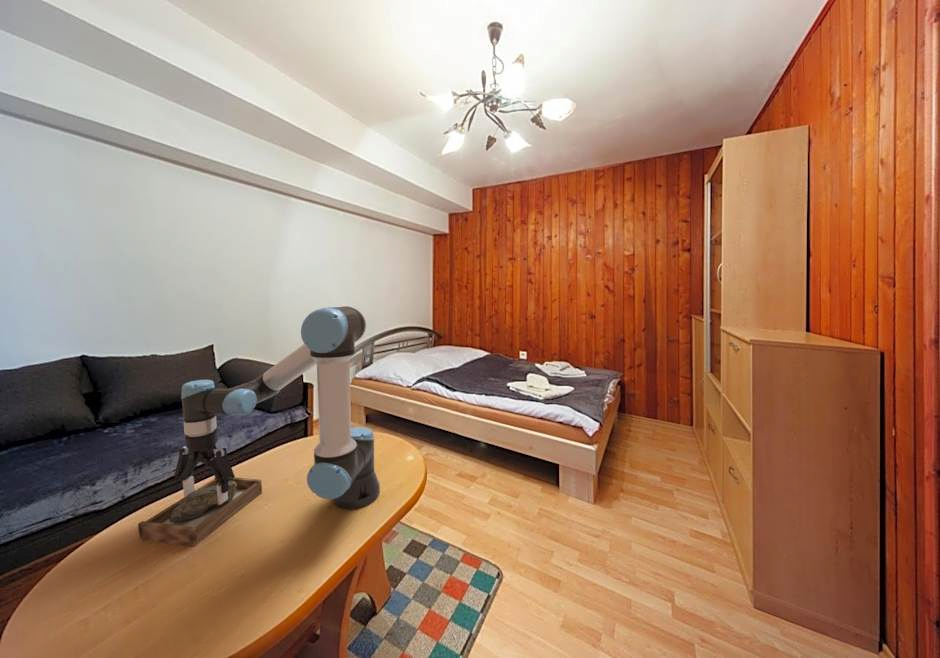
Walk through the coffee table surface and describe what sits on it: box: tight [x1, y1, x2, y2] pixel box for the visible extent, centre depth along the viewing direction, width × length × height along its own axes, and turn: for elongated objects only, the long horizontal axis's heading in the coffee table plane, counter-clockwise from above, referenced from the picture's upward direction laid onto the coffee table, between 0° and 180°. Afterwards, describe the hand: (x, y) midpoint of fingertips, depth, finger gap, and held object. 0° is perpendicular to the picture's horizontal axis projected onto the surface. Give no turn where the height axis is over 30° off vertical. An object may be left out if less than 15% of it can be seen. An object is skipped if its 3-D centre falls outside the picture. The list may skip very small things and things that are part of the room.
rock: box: [169, 481, 237, 522], centre depth 99 cm, size 17×7×10 cm
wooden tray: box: [137, 476, 263, 548], centre depth 99 cm, size 17×24×5 cm
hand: (206, 500), depth 99 cm, fingers closed on rock, 11 cm apart
